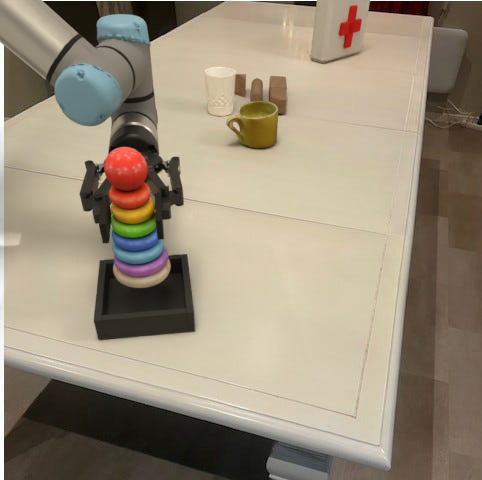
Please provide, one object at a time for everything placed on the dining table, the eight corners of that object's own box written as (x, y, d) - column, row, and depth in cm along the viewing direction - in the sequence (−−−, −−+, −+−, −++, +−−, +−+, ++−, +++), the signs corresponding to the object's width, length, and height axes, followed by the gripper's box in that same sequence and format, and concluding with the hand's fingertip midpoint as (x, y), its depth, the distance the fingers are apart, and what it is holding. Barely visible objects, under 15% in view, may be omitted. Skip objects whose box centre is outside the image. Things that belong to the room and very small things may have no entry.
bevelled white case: (326, 65, 159) (335, -5, 146) (308, 60, 164) (315, -10, 150) (364, 54, 170) (377, -13, 156) (346, 49, 174) (357, -17, 160)
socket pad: (98, 340, 67) (93, 320, 65) (103, 278, 77) (99, 260, 74) (195, 331, 69) (193, 312, 66) (188, 272, 79) (187, 253, 76)
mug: (276, 122, 119) (273, 88, 110) (284, 152, 114) (282, 118, 106) (227, 133, 120) (221, 99, 111) (234, 163, 115) (227, 130, 106)
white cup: (207, 105, 132) (206, 66, 125) (235, 106, 131) (236, 67, 125) (204, 116, 126) (203, 76, 119) (234, 117, 126) (235, 77, 119)
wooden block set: (286, 71, 137) (288, 94, 124) (284, 92, 141) (286, 116, 128) (227, 68, 137) (222, 91, 124) (226, 89, 141) (222, 113, 128)
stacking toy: (117, 256, 71) (95, 133, 59) (171, 255, 72) (161, 133, 59) (111, 291, 66) (85, 163, 53) (169, 290, 66) (158, 163, 53)
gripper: (196, 167, 78) (210, 251, 62) (76, 173, 76) (58, 262, 59) (194, 121, 73) (209, 199, 57) (65, 126, 71) (42, 209, 54)
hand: (132, 231), depth 58 cm, fingers closed on stacking toy, 6 cm apart
